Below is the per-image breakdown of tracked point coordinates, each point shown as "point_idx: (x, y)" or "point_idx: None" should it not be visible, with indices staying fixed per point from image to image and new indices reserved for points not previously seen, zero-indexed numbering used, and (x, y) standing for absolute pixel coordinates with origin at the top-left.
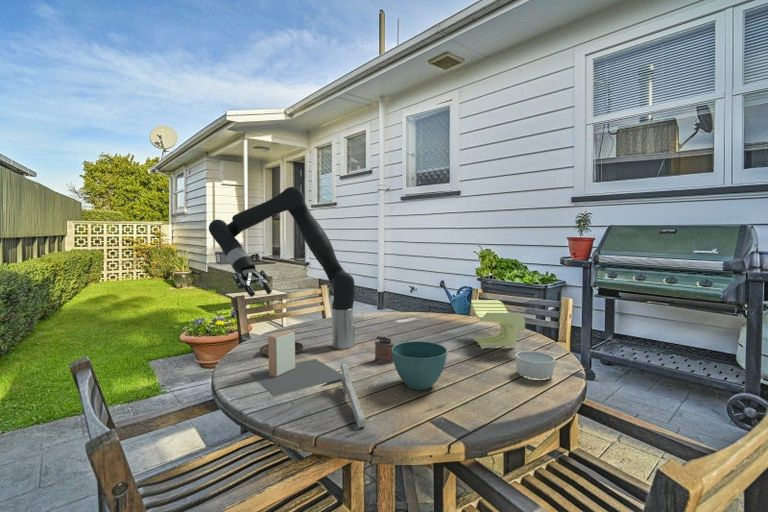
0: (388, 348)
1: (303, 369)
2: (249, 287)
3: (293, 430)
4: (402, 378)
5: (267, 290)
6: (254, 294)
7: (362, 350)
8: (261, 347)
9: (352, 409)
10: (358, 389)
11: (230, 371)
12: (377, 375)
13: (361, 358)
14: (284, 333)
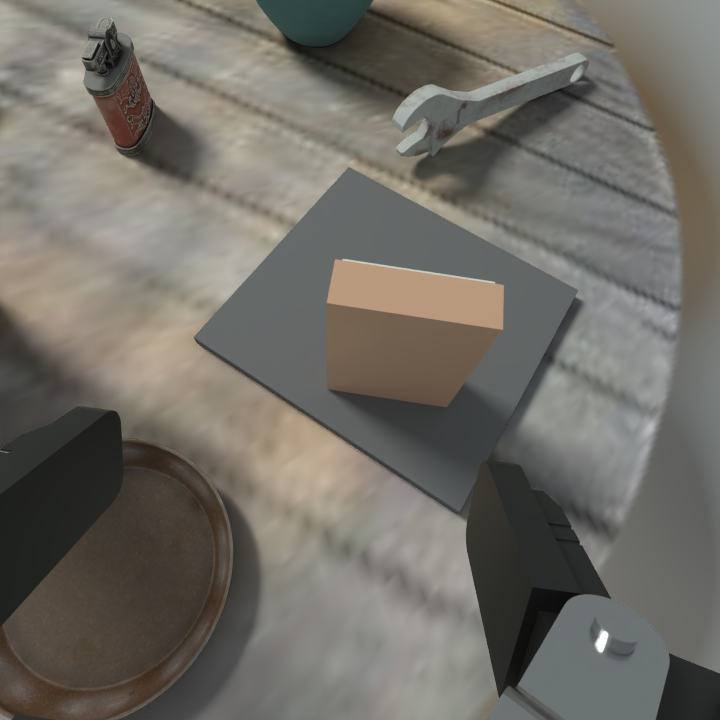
0: (135, 62)
1: None
2: (561, 581)
3: (665, 176)
4: (358, 18)
5: (84, 490)
6: (482, 477)
7: (6, 226)
8: (112, 717)
9: (533, 97)
10: None
11: (448, 652)
12: (280, 115)
13: (120, 198)
14: (413, 278)
